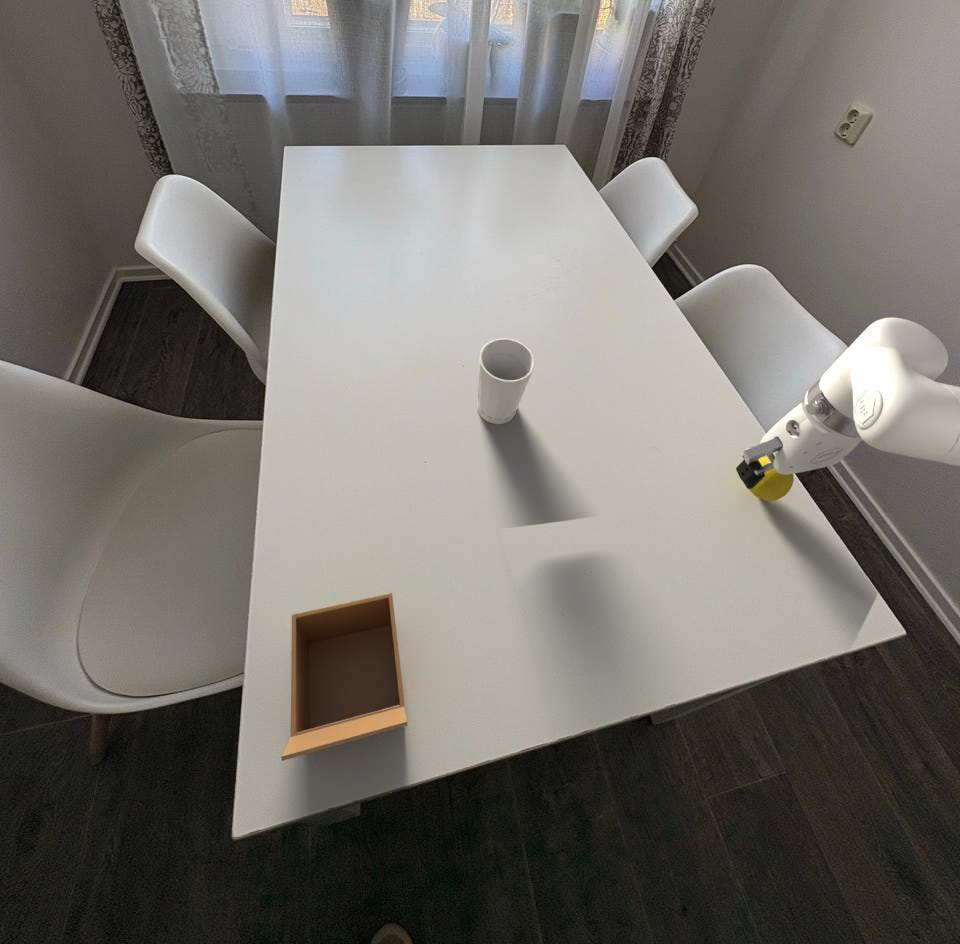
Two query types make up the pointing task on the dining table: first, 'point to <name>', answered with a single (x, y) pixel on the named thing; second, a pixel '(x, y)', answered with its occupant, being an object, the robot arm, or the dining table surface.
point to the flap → (344, 733)
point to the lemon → (772, 484)
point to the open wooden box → (344, 664)
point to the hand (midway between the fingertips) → (772, 473)
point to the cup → (502, 379)
